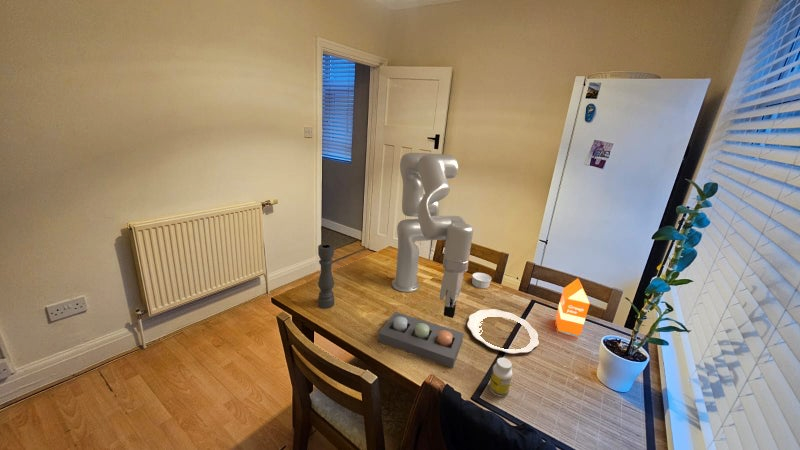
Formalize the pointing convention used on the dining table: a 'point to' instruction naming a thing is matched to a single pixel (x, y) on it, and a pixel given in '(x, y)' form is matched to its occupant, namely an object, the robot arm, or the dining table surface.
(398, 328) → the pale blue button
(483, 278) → the ramekin
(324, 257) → the candle holder
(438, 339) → the terracotta button
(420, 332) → the sage button
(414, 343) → the button panel
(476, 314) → the plate
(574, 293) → the orange juice
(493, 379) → the supplement bottle
